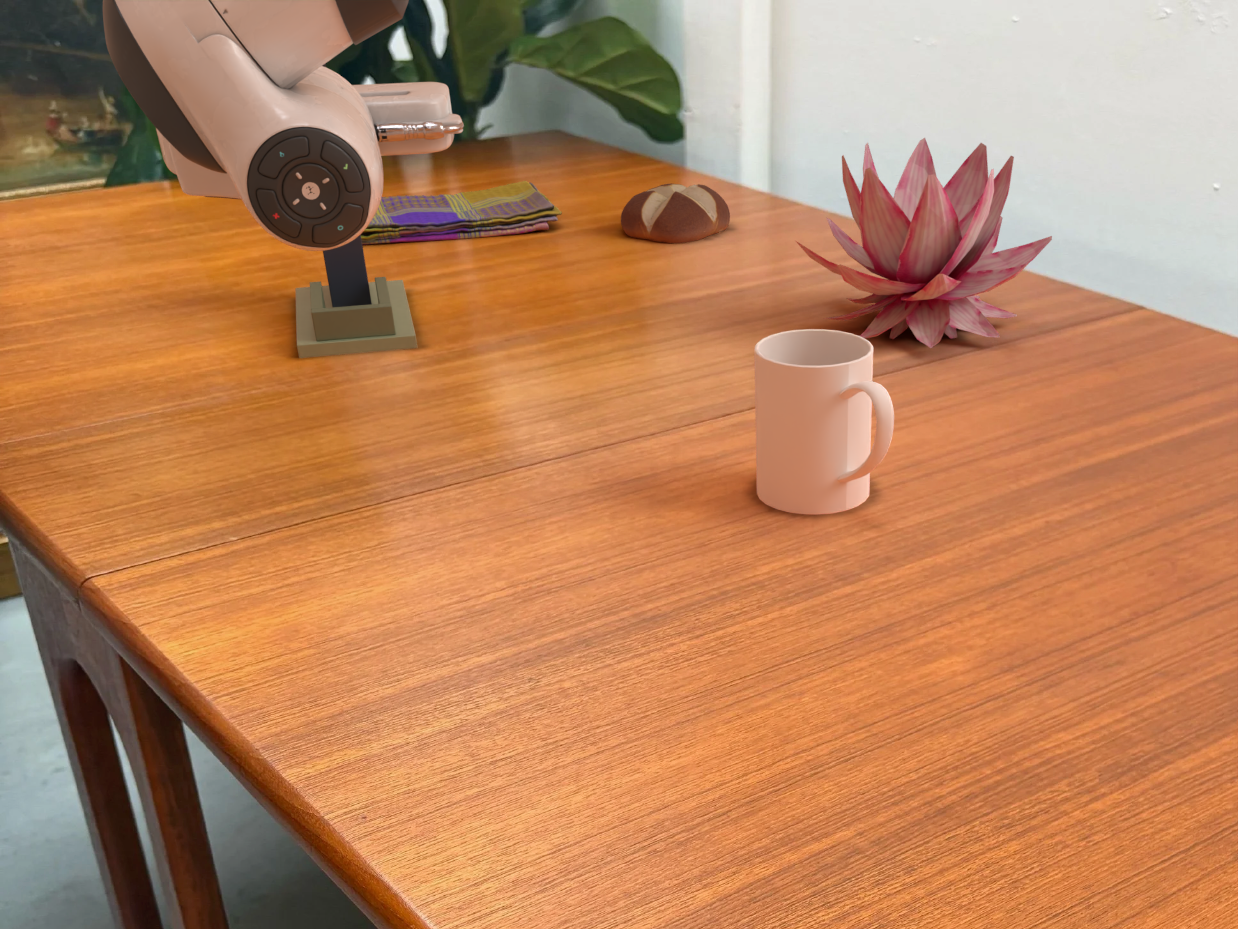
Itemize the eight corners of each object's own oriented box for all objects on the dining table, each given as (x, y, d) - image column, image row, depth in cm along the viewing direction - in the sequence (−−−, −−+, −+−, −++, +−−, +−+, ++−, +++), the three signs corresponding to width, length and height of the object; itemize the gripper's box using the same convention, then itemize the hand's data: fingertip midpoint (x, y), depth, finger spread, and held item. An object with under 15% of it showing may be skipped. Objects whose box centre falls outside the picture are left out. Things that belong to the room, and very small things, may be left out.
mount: (418, 352, 132) (394, 189, 124) (299, 362, 129) (268, 197, 122) (405, 295, 146) (383, 146, 138) (298, 303, 144) (269, 152, 136)
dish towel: (328, 214, 173) (323, 188, 171) (539, 198, 179) (537, 174, 177) (336, 252, 159) (332, 225, 157) (565, 234, 165) (563, 208, 163)
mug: (735, 490, 106) (731, 342, 100) (826, 466, 110) (828, 321, 104) (835, 551, 98) (837, 393, 92) (930, 523, 101) (938, 369, 96)
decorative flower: (760, 318, 139) (757, 144, 131) (953, 287, 148) (962, 121, 139) (880, 386, 124) (885, 194, 115) (1088, 347, 132) (1107, 164, 124)
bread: (746, 229, 166) (745, 182, 164) (680, 251, 159) (678, 202, 156) (668, 215, 172) (666, 169, 169) (601, 236, 164) (598, 188, 161)
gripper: (460, 79, 100) (443, 49, 111) (135, 93, 96) (151, 60, 107) (472, 179, 104) (454, 140, 115) (158, 197, 99) (171, 155, 110)
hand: (306, 102), depth 111 cm, fingers closed on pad, 3 cm apart
